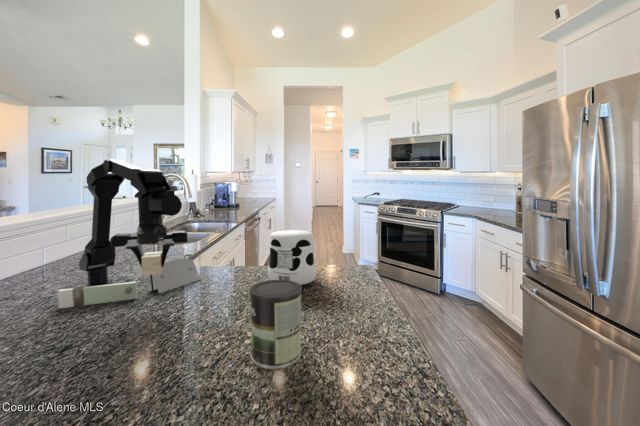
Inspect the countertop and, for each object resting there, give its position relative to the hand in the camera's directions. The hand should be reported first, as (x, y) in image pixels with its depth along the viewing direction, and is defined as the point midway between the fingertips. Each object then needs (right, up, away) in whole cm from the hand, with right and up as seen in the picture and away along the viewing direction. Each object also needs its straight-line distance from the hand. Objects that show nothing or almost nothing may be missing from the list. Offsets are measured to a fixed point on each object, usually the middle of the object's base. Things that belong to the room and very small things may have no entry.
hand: (152, 267), depth 84 cm
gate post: (-22, -11, 0) cm, 24 cm away
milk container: (+38, -10, +21) cm, 45 cm away
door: (-14, -11, +3) cm, 18 cm away
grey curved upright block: (-3, -10, +19) cm, 21 cm away
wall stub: (-24, -11, -1) cm, 26 cm away
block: (0, -1, 0) cm, 1 cm away
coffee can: (+39, -13, -24) cm, 48 cm away
